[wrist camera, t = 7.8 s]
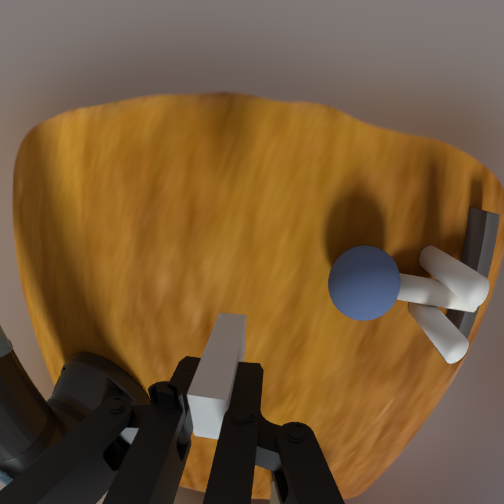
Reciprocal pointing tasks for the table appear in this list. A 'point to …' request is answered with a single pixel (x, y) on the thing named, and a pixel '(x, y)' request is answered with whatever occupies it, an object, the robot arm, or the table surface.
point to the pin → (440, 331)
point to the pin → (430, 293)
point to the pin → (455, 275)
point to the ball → (364, 282)
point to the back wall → (476, 259)
